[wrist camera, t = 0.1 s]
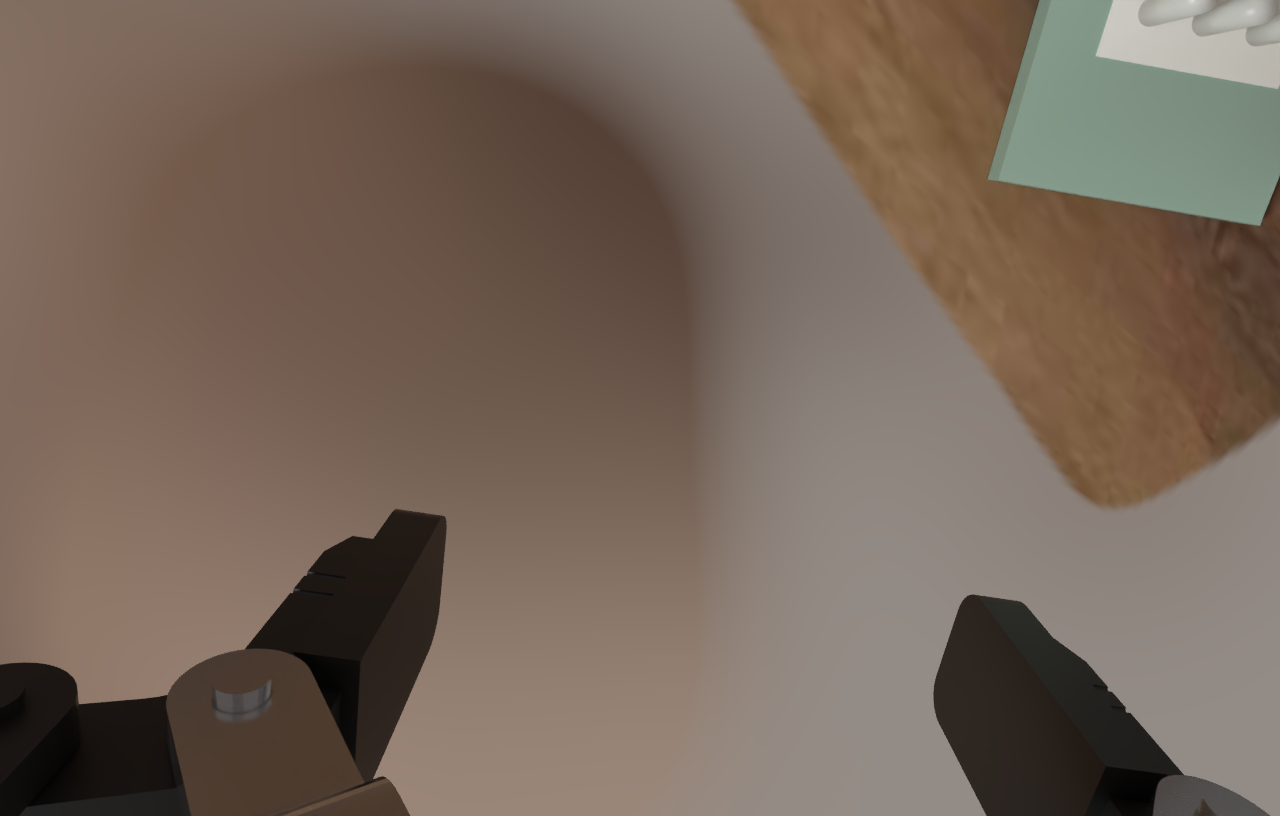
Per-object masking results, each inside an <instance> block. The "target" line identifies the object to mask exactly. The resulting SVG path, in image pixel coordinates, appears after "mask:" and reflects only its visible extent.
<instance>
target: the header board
mask: <svg viewBox="0 0 1280 816" xmlns="http://www.w3.org/2000/svg"><path fill="white" fill-rule="evenodd" d="M1279 176H1280V0H1040V1H1039V4H1038V8H1037V11H1036V15H1035V18H1034V22H1033V25H1032V28H1031V32H1030V35H1029V39H1028V42H1027V46H1026V49H1025V53H1024V56H1023V59H1022V63H1021V66H1020V70H1019V73H1018V77H1017V80H1016V84H1015V87H1014V90H1013V94H1012V97H1011V101H1010V104H1009V108H1008V111H1007V115H1006V118H1005V121H1004V125H1003V128H1002V132H1001V135H1000V139H999V142H998V146H997V149H996V152H995V156H994V159H993V163H992V166H991V170H990V173H989V177H988V180H992V181H997V182H1003V183H1009V184H1015V185H1021V186H1026V187H1032V188H1038V189H1044V190H1049V191H1055V192H1061V193H1067V194H1073V195H1078V196H1084V197H1090V198H1096V199H1102V200H1107V201H1113V202H1119V203H1125V204H1130V205H1136V206H1142V207H1148V208H1154V209H1159V210H1165V211H1171V212H1177V213H1182V214H1188V215H1194V216H1200V217H1206V218H1211V219H1217V220H1223V221H1229V222H1234V223H1240V224H1248V225H1257V226H1260V224H1261V221H1262V219H1263V216H1264V214H1265V211H1266V209H1267V206H1268V204H1269V201H1270V199H1271V196H1272V194H1273V191H1274V189H1275V186H1276V184H1277V181H1278V179H1279Z"/></svg>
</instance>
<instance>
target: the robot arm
mask: <svg viewBox="0 0 1280 816" xmlns="http://www.w3.org/2000/svg"><path fill="white" fill-rule="evenodd" d="M446 526H447V525H446V518H445V516H440V515H433V514H426V513H420V512H413V511H406V510H399V509H395V510H394V511H393V512H392V513H391V515H390V516H389V517H388V519H387V520H386V522H385V523H384V525H383V526H382V527H381V529H380V530H379V532H378V533H377V535H376V536H375V537H374V539H369V538H362V537H355V536H352V537H350V538H348V539H346V540H344V541H343V542H340V543H339V544H337V545H335V546H333V547H331V548H329V549H328V550H326V551H324V552H323V553H322V555H321V556H320V557H319V558H318V560H317V561H316V562H315V563H314V564H313V566H312V567H311V568H310V569H309V571H308V573H307V576H304V577H303V578H302V579H301V580H300V582H299V583H298V584H297V586H296V587H295V588H294V591H293V593H290V594H289V595H288V597H287V598H286V599H285V600H284V601H283V603H282V604H281V605H280V607H279V608H278V609H277V610H276V611H275V613H274V614H273V615H272V616H271V617H270V619H269V620H268V621H267V623H266V624H265V625H264V626H263V628H262V629H261V630H260V631H259V632H258V634H257V635H256V636H255V637H254V638H253V640H252V641H251V642H250V643H249V645H248V646H247V647H246V649H244V650H237V651H232V652H228V653H224V654H220V655H217V656H214V657H212V658H209V659H207V660H205V661H203V662H201V663H199V664H197V665H195V666H194V667H192V668H191V669H189V670H188V671H187V672H185V673H184V674H183V675H181V676H180V677H179V678H178V679H177V681H176V682H175V683H174V684H173V685H172V687H171V689H170V691H169V693H168V695H165V696H160V697H154V698H146V699H137V700H124V701H112V702H101V703H89V704H78V691H77V684H76V682H75V680H74V678H73V677H72V676H70V674H69V673H67V672H66V671H64V670H62V669H60V668H57V667H55V666H51V665H47V664H40V663H10V664H3V665H0V816H410V815H409V813H408V811H407V809H406V807H405V805H404V803H403V801H402V799H401V797H400V795H399V794H398V792H397V790H396V788H395V787H394V785H393V784H392V783H391V782H390V780H388V779H387V778H386V777H378V778H376V779H373V777H374V775H375V773H376V771H377V768H378V766H379V764H380V761H381V759H382V757H383V755H384V752H385V750H386V748H387V745H388V743H389V741H390V738H391V736H392V734H393V732H394V730H395V727H396V725H397V723H398V720H399V718H400V716H401V713H402V711H403V709H404V707H405V704H406V702H407V700H408V697H409V695H410V693H411V691H412V688H413V686H414V684H415V681H416V679H417V677H418V675H419V672H420V670H421V667H422V665H423V663H424V661H425V659H426V656H427V654H428V652H429V649H430V646H431V644H432V640H433V637H434V634H435V629H436V625H437V619H438V614H439V607H440V595H441V586H442V574H443V563H444V552H445V541H446ZM1107 688H1108V687H1107V685H1106V684H1105V683H1104V682H1103V681H1102V680H1101V679H1100V678H1099V677H1098V675H1097V674H1096V673H1095V672H1094V670H1093V669H1092V668H1091V667H1090V666H1089V665H1088V664H1087V662H1085V661H1084V660H1083V659H1081V658H1080V657H1079V656H1077V655H1076V654H1074V653H1073V652H1072V651H1070V650H1069V649H1068V648H1066V647H1065V646H1064V645H1062V644H1061V643H1059V642H1058V641H1057V640H1055V639H1054V638H1053V637H1052V636H1051V635H1050V634H1049V633H1048V631H1047V630H1046V629H1045V628H1044V627H1043V625H1042V624H1041V623H1040V622H1039V621H1038V620H1037V618H1036V617H1035V616H1034V615H1033V614H1032V612H1031V611H1030V610H1029V609H1028V608H1027V606H1026V605H1025V604H1023V603H1022V602H1019V601H1013V600H1006V599H1000V598H992V597H986V596H979V595H969V596H967V597H966V598H965V599H964V600H963V601H962V603H961V605H960V607H959V610H958V612H957V615H956V618H955V621H954V625H953V627H952V630H951V634H950V637H949V639H948V642H947V646H946V648H945V651H944V654H943V658H942V661H941V664H940V667H939V670H938V673H937V676H936V679H935V684H934V708H935V713H936V717H937V720H938V722H939V724H940V726H941V728H942V730H943V732H944V734H945V736H946V738H947V739H948V742H949V744H950V745H951V747H952V749H953V751H954V753H955V755H956V757H957V759H958V761H959V763H960V765H961V767H962V769H963V771H964V773H965V774H966V777H967V779H968V780H969V782H970V784H971V786H972V788H973V790H974V792H975V794H976V796H977V798H978V800H979V802H980V804H981V806H982V808H983V810H984V812H985V813H986V815H987V816H1270V815H1269V814H1267V813H1266V812H1265V811H1263V810H1262V809H1261V808H1259V807H1258V806H1256V805H1255V804H1254V803H1252V802H1250V801H1249V800H1247V799H1245V798H1243V797H1242V796H1240V795H1239V794H1237V793H1235V792H1233V791H1231V790H1229V789H1227V788H1225V787H1222V786H1220V785H1218V784H1215V783H1213V782H1210V781H1207V780H1204V779H1200V778H1197V777H1192V776H1186V775H1184V774H1183V773H1182V772H1181V771H1180V770H1179V769H1178V767H1177V766H1176V765H1175V764H1174V763H1173V762H1172V761H1171V759H1170V758H1169V757H1168V756H1167V755H1166V754H1165V752H1164V751H1163V750H1162V749H1161V748H1160V747H1159V746H1158V745H1157V743H1156V742H1155V741H1154V740H1153V739H1152V738H1151V736H1150V735H1149V734H1148V733H1147V732H1146V731H1145V729H1144V728H1143V727H1142V726H1141V725H1140V724H1139V722H1138V721H1137V720H1136V719H1135V718H1134V717H1133V716H1132V714H1131V713H1126V711H1125V706H1124V705H1123V704H1122V703H1121V702H1120V700H1119V699H1118V698H1117V697H1116V696H1115V695H1114V694H1113V693H1112V692H1109V691H1108V690H1107Z"/></svg>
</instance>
